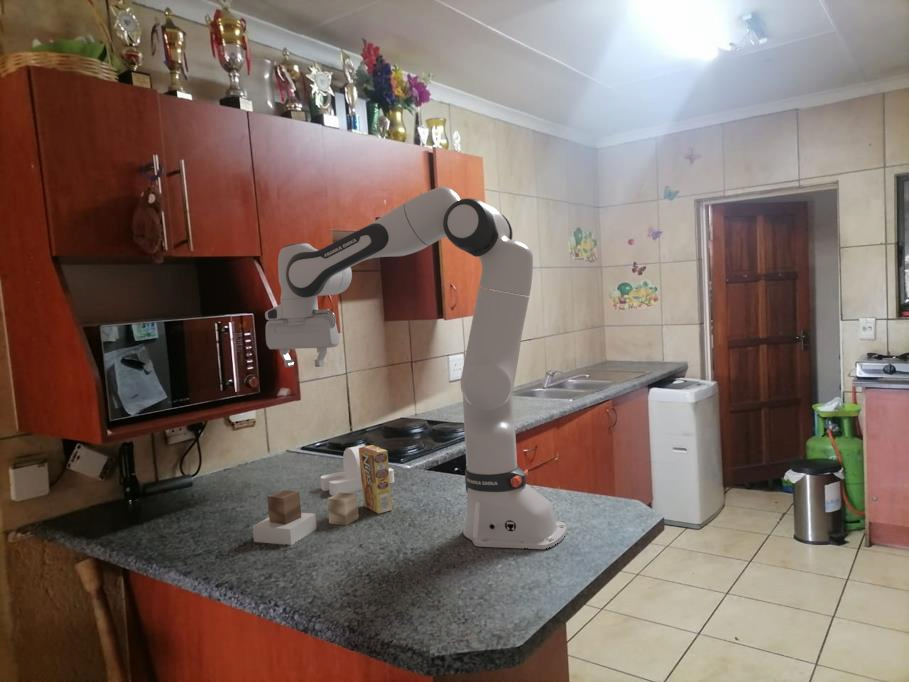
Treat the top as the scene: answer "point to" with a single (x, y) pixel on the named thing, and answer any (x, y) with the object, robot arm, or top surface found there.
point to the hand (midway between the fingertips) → (304, 366)
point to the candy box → (375, 478)
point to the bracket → (347, 475)
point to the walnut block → (284, 507)
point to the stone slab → (284, 530)
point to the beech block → (342, 508)
